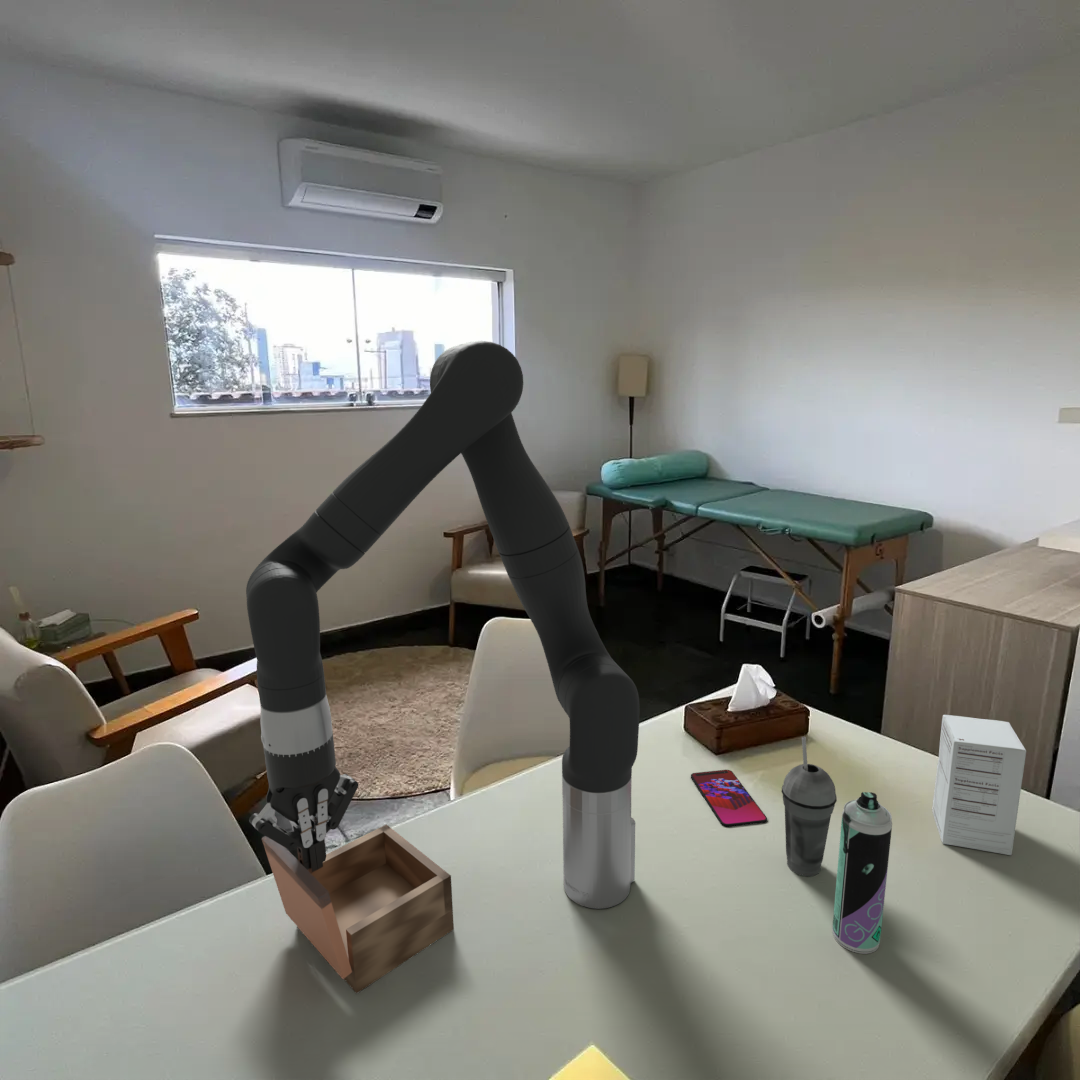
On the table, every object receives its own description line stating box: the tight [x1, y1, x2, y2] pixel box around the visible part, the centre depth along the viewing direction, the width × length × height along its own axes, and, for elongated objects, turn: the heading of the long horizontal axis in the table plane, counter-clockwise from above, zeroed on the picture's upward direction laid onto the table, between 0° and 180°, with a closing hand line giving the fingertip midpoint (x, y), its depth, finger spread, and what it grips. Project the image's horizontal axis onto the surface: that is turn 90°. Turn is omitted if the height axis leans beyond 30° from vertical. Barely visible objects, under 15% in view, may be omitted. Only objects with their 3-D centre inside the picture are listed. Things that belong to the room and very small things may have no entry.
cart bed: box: [311, 824, 455, 994], centre depth 94 cm, size 14×15×8 cm
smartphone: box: [690, 769, 768, 828], centre depth 121 cm, size 8×1×15 cm
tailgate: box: [261, 835, 352, 980], centre depth 87 cm, size 1×15×12 cm, turn 43°
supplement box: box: [931, 714, 1027, 856], centre depth 109 cm, size 10×9×17 cm
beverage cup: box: [780, 736, 838, 877], centre depth 102 cm, size 7×7×20 cm
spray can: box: [831, 791, 893, 955], centre depth 89 cm, size 6×6×20 cm
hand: (313, 866), depth 87 cm, fingers closed
